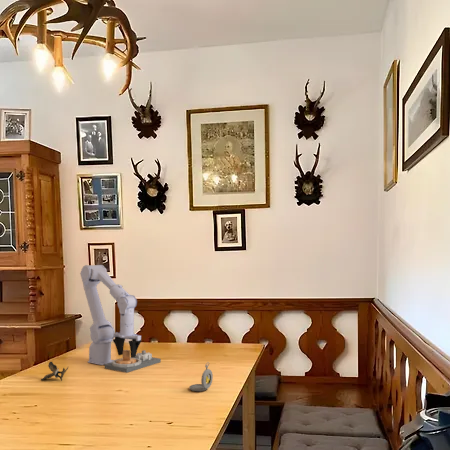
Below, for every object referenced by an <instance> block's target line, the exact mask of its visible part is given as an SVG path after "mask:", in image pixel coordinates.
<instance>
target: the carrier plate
mask: <svg viewBox="0 0 450 450" xmlns="http://www.w3.org/2000/svg"><path fill="white" fill-rule="evenodd" d="M146 351H147V350H144V349H143V350H141V352H137V353H136V357H133V358H134V359H136V363H132V364H118V363H116V360H118V359H119V358H117V359H113V360H114V361H112V362H111V363H108V364H104V369H106V370H107V369H108V370H110V371H111V370H112V371H117V372H121V373H125V374H126V373H130V372H133V371H137V370H139V369H143V368H146V367H150V366H152V365H153V366H154V365H157V364H159V363H161V361H162V359H161V358H159V357H158V358H157V357H154V356H153V354H152V353H150V352H146ZM130 358H132V357H131V356H130ZM120 359H123V357H121V358H120Z"/></svg>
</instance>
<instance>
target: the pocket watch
mask: <svg viewBox="0 0 450 450" xmlns="http://www.w3.org/2000/svg"><path fill="white" fill-rule="evenodd" d="M209 366H210V362H206V364H205V366H204V367H205V368H206V369H204V371H203V372H202V375H201V380H200V381H201V383H194V384H191V385H189V388H188V389H189V390H191V391H193V392H203V391H207V390H208V389H209V388H210V387H211V385H212V383H213V380H214V379H213V371H212V370H211V369H210V368H209Z"/></svg>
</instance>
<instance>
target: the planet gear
mask: <svg viewBox="0 0 450 450" xmlns="http://www.w3.org/2000/svg"><path fill="white" fill-rule="evenodd" d="M122 358H123V359H121V358H117V359H118V360H117V359H115V360H116V363H118V364H132V363H136V359H134V358H131V350H130V349H123V355H122Z"/></svg>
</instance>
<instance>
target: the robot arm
mask: <svg viewBox="0 0 450 450" xmlns="http://www.w3.org/2000/svg"><path fill="white" fill-rule="evenodd" d="M79 274H80V277H81V282H82V285H83V290H84V295H85V297H86V300H87V301H86V302H87V304H88V308H89V312H90V315H91V319H92V324H91V326H90V327H89V329H90V330H89V331H90V336H89V337H90V340H91V344H90V345H89V347H88V348H89V350H88V361H87V363H88V364H96V365H100V366H103V365H104V366H105V364H109V363H112V361H114V360H115V359H112V358H111V357H112V342H113V343H114V345H115V348H116V352H117V354H118V355H117V356H123V350H124V347H125V346H124V345H125V341H126V340H128V344H129V345H128V346H129V350H130V358H131V357H132V358H133V357H136V354H137V353H138V349H139V346H140V344H141V343H142V335H140V334H136V333H135V308H136V307H137V305H138V299H137V298H136V296H135V295H134V294H129V292H127V290H126V289H124V288H123V285H122V284H118V283H116V282H115V281H114V280H113V279H112V277H111V276H110V275H109V274H108V270H107V268H106V267H105V266H104V265H103V264H96V265H94V264H91V265H88V264H85V265H84V266H82V268H81V271H80V273H79ZM100 283H102V284H103V285H104V286H106V288H108V289H109V294H110V295H111V297H112V298H113V299H114V300H115V301H116V303H117V307H118V309H119V314H120V315H119V316H120V321H119V323H120V324H119V327H120V328H119V329H120V331H119V332H117V331H116V332H115V328H114V327H113V325H112V322H110V321H109V320H107V319H106V316H105V313H104V309H103V306H102V302H101V299H100V294H99V292H98V288H97V286H98V285H99V284H100Z"/></svg>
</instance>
